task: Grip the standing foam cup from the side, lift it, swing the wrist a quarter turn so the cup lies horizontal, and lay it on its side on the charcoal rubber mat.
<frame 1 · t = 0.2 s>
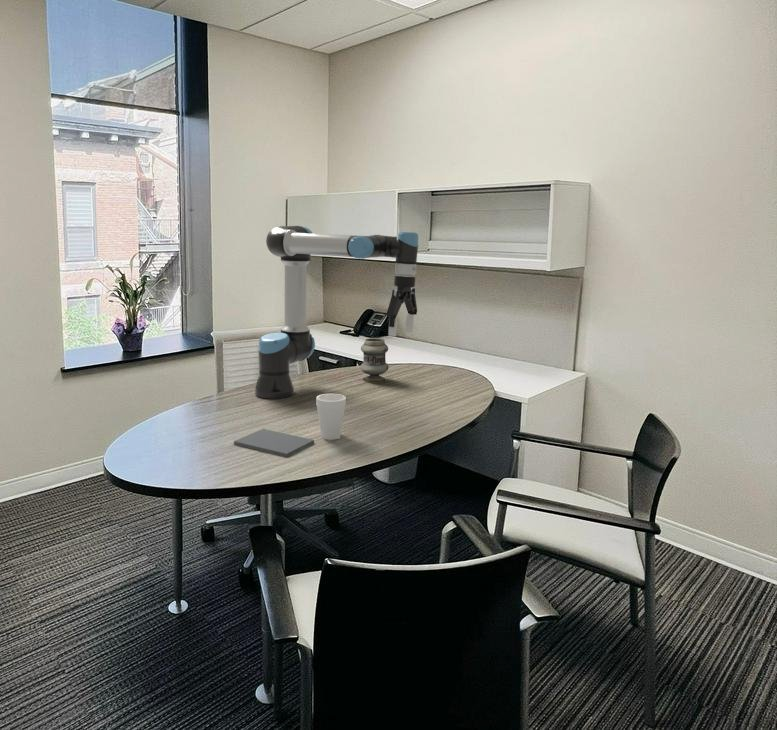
hand: (400, 333, 235), 28 cm above the table, tool pointing down, fingers open, 13 cm apart
foam cup: (330, 436, 206), on the table
apothecary jar: (374, 380, 278), on the table
rubber mat: (274, 443, 198), on the table
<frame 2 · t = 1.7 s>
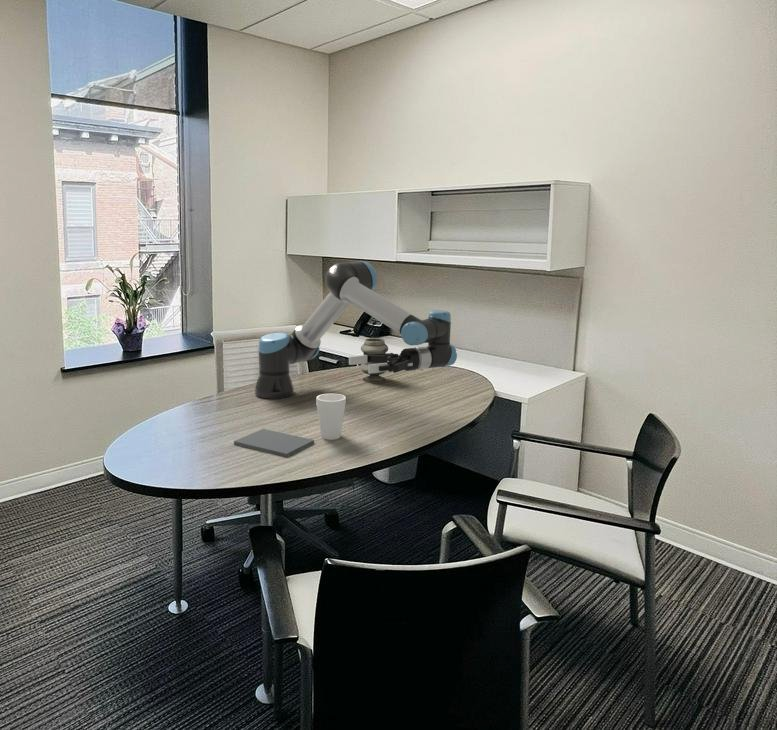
hand: (358, 364, 206), 23 cm above the table, tool horizontal, fingers open, 13 cm apart
nothing on the table moved.
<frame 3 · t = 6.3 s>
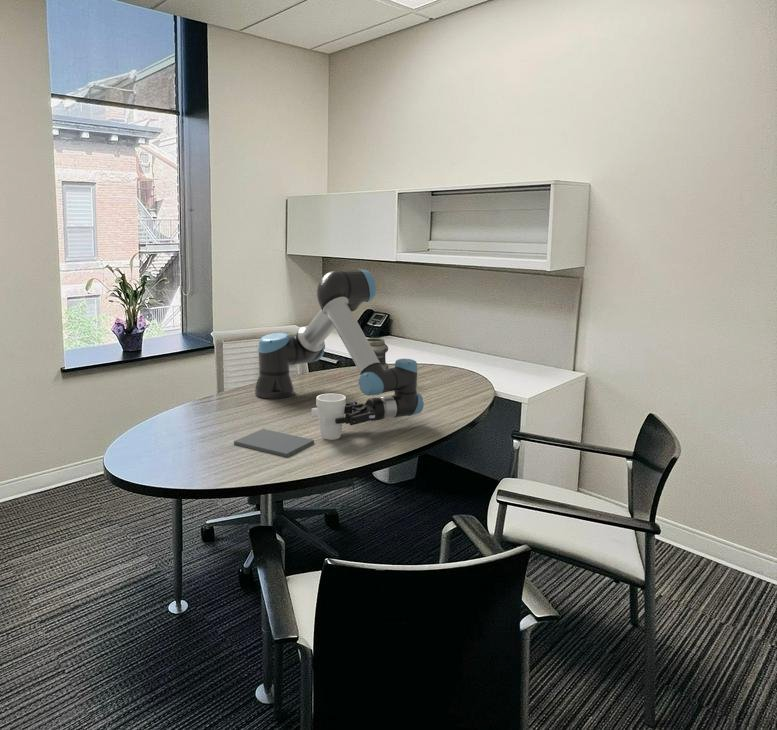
hand: (318, 417, 202), 7 cm above the table, tool horizontal, fingers closed on foam cup, 9 cm apart
foam cup: (330, 436, 206), on the table, touching gripper
everything else where it was.
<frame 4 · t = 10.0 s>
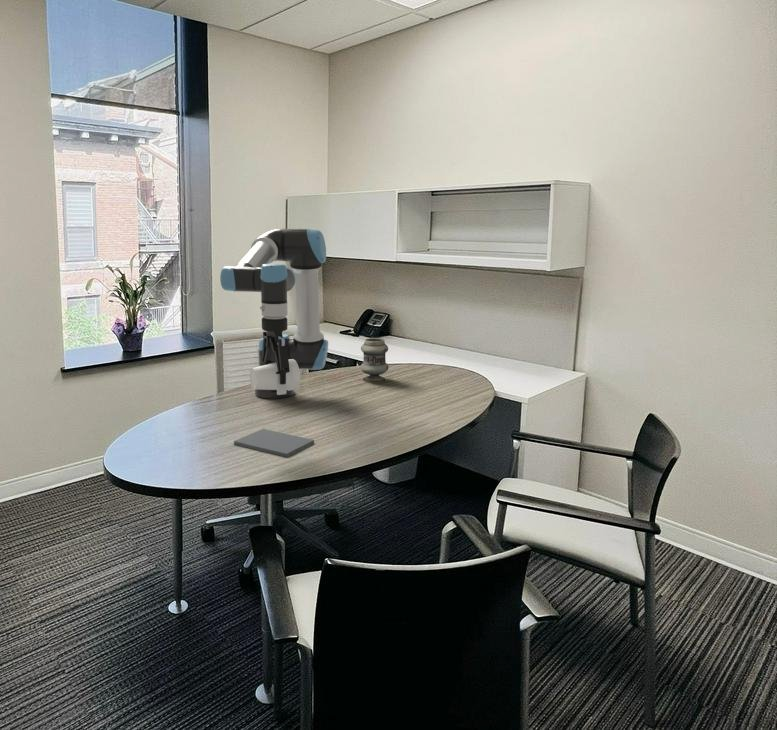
hand: (275, 389, 194), 17 cm above the table, tool pointing down, fingers closed on foam cup, 9 cm apart
foam cup: (252, 378, 189), point 21 cm above the table, touching gripper
everything else where it was.
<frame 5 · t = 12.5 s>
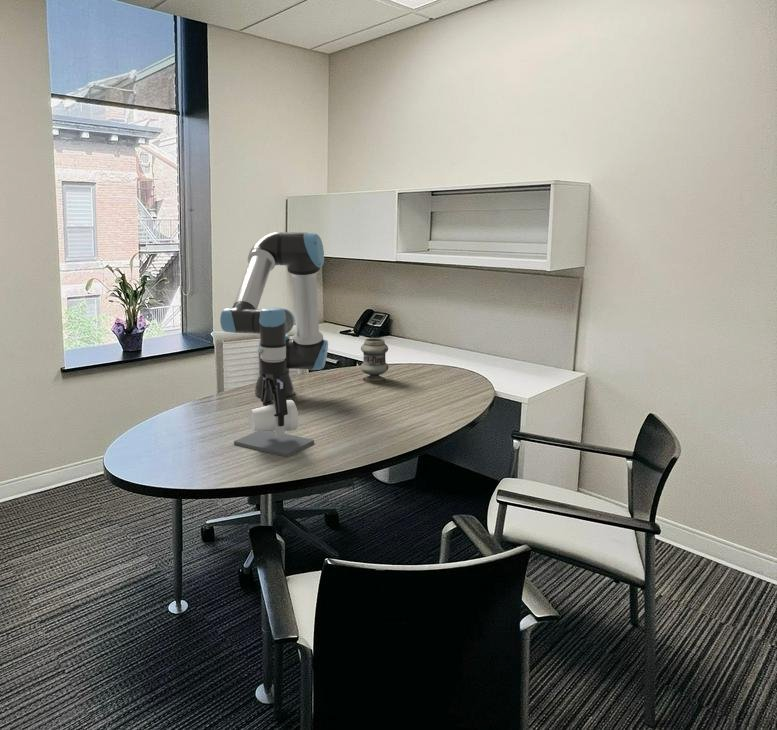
hand: (274, 430, 197), 4 cm above the table, tool pointing down, fingers closed on foam cup, 9 cm apart
foam cup: (251, 420, 192), point 8 cm above the table, touching gripper
everything else where it was.
when the fingers open (3 cm above the table, at t = 13.6 s): foam cup drops 2 cm, resting on rubber mat.
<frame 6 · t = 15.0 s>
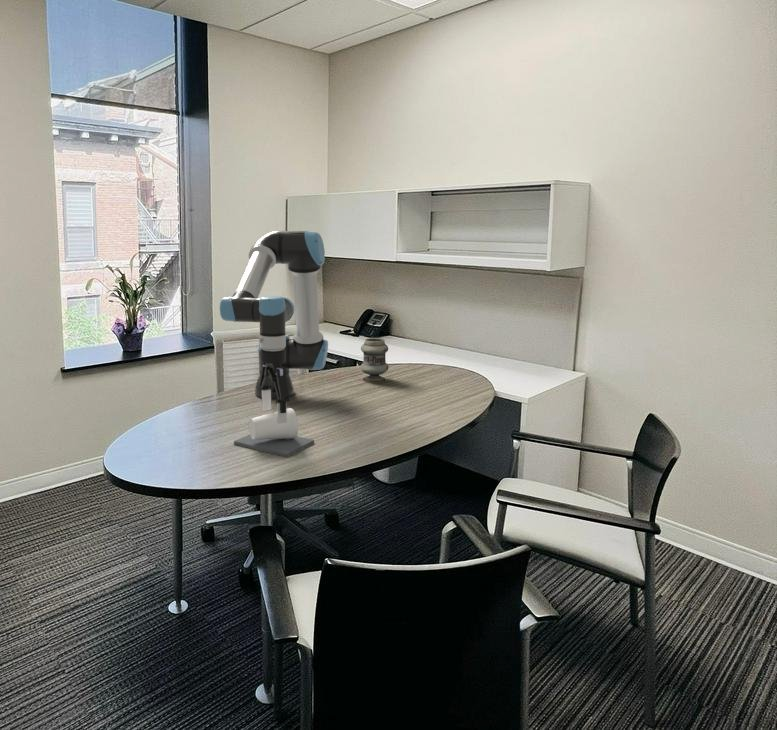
hand: (274, 416, 196), 9 cm above the table, tool pointing down, fingers open, 13 cm apart
foam cup: (251, 429, 193), point 6 cm above the table, touching rubber mat
everything else where it was.
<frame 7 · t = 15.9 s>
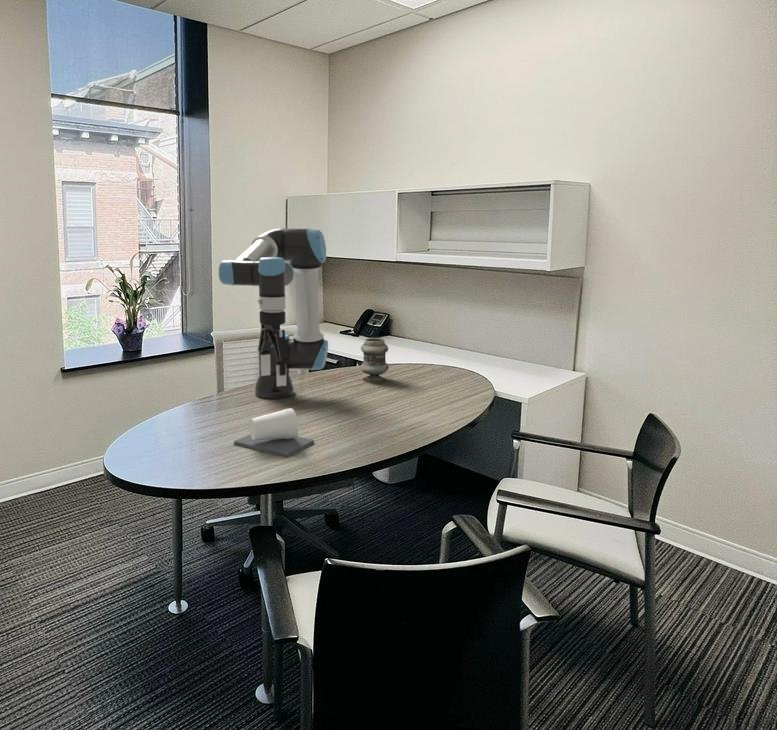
hand: (273, 380, 193), 20 cm above the table, tool pointing down, fingers open, 13 cm apart
nothing on the table moved.
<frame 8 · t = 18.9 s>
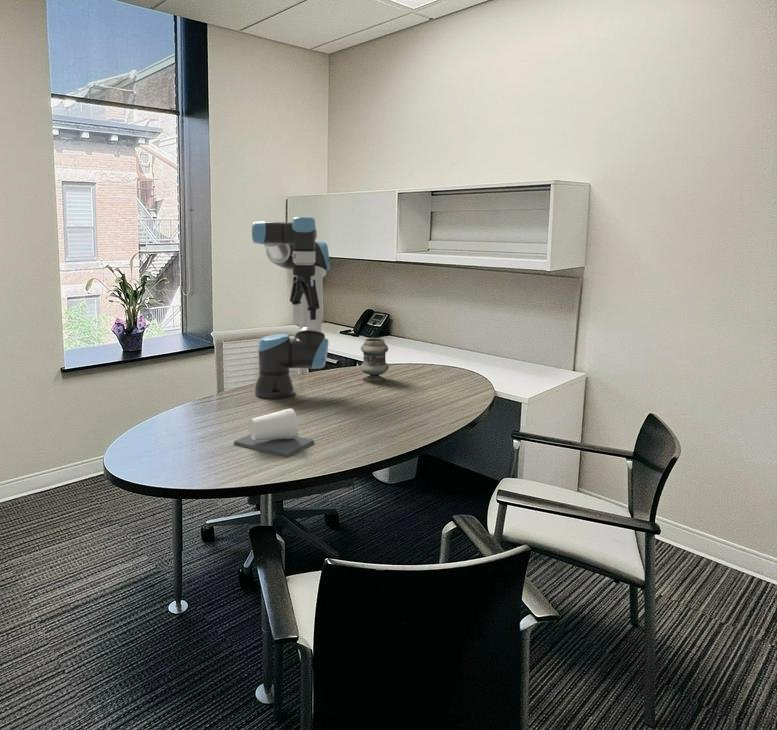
hand: (304, 326, 221), 32 cm above the table, tool pointing down, fingers open, 13 cm apart
nothing on the table moved.
at the end: foam cup tilted 90°; foam cup inside the target area on the rubber mat (7.1 cm from its centre), point 5.6 cm above the rubber mat's base; the gripper is holding nothing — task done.
